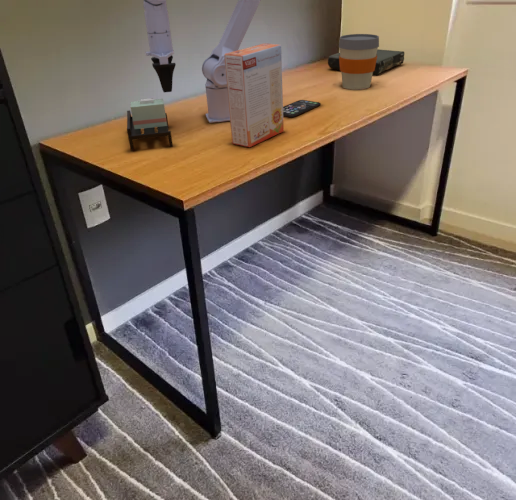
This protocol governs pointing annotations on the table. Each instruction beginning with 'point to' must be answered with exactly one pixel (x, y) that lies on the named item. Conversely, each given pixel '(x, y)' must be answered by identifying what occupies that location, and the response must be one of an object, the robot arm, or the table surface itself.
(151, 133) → the rack
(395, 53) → the network switch
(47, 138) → the table surface
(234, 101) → the cracker box
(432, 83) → the table surface
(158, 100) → the tissue box
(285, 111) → the smartphone
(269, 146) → the table surface
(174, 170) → the table surface
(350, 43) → the reusable coffee cup
